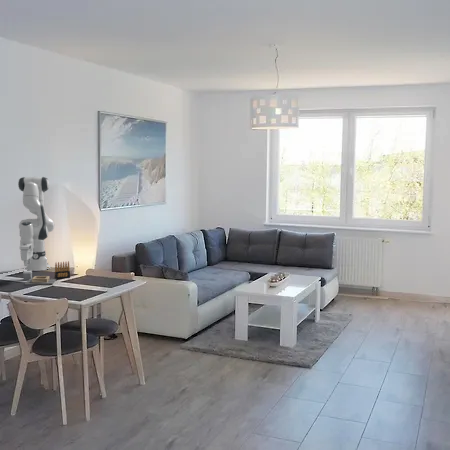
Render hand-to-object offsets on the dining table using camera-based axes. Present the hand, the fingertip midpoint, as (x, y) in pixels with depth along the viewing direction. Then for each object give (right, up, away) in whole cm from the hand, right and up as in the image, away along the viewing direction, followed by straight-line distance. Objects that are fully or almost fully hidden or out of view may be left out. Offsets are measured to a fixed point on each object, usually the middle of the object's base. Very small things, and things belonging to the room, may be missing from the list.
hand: (27, 265), depth 412 cm
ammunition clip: (+22, -10, +9) cm, 26 cm away
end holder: (+12, -12, -7) cm, 18 cm away
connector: (0, -10, +2) cm, 10 cm away
